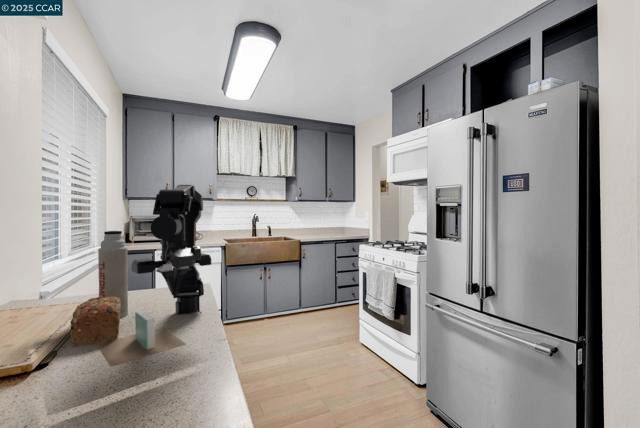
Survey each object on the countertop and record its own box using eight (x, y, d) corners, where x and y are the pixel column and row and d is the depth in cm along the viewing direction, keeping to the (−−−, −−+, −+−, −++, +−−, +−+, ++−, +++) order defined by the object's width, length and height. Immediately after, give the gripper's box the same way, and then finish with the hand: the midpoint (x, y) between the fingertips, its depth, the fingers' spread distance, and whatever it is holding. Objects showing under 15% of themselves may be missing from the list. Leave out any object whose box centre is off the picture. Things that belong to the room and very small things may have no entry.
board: (164, 331, 90) (163, 327, 90) (186, 348, 79) (186, 343, 79) (96, 348, 79) (96, 344, 79) (110, 371, 67) (110, 366, 67)
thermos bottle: (102, 322, 98) (101, 232, 98) (96, 316, 103) (95, 231, 103) (131, 315, 104) (130, 230, 104) (123, 310, 109) (123, 229, 109)
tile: (143, 336, 83) (143, 310, 83) (154, 347, 77) (154, 318, 77) (135, 338, 82) (135, 312, 82) (146, 349, 75) (146, 320, 75)
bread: (119, 343, 82) (119, 305, 82) (68, 353, 77) (67, 312, 77) (122, 322, 98) (121, 290, 98) (79, 328, 93) (78, 295, 93)
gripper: (144, 240, 72) (144, 309, 72) (220, 236, 85) (220, 293, 85) (130, 238, 80) (131, 299, 80) (202, 234, 93) (202, 286, 93)
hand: (174, 294), depth 84 cm, fingers closed
